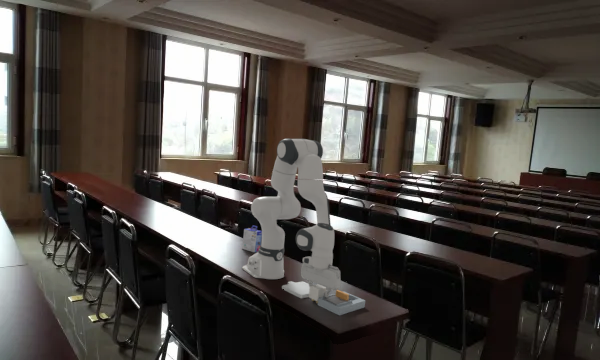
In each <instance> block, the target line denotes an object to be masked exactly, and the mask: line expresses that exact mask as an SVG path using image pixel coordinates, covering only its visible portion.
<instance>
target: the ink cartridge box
mask: <svg viewBox="0 0 600 360" xmlns="http://www.w3.org/2000/svg"><path fill="white" fill-rule="evenodd" d="M261 243H262V230H258V226H257V225H252V226H251V227H248V228H244V229H243V238H242V245H241V246H242V247H241V249H242V250H245V251H249V252H251V253H257V252H258V250H259V248H257V247H259V246H260V245H261Z"/></svg>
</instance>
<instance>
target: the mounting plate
mask: <svg viewBox="0 0 600 360" xmlns="http://www.w3.org/2000/svg"><path fill="white" fill-rule="evenodd" d="M283 289H284V290H283ZM309 289H310V287H309V284H308V282H305V281H298V282H294V281H292V280H291V281H288V282H287V284H283V285H281V290H283V291H285V292H287V293H289V294H291V295H293V296H295V297H297V298H300V299H304V298H309V292H310V291H309Z"/></svg>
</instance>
